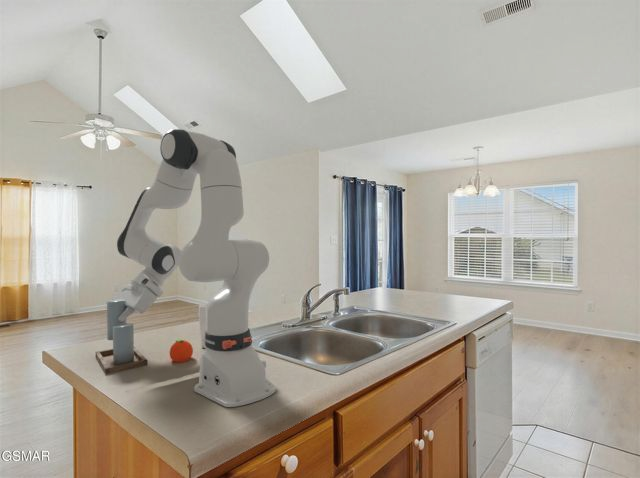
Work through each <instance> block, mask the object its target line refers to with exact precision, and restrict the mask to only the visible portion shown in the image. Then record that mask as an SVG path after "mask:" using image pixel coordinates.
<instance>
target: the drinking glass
mask: <svg viewBox="0 0 640 478" xmlns="http://www.w3.org/2000/svg"><path fill="white" fill-rule="evenodd" d="M207 304H208V303H202V304H199V305H198V322H199V331H200V332H199V333H200V341H201V343H200V344H201V348H202V349H206V346H205V332H206V331H207V313H206V307H207Z"/></svg>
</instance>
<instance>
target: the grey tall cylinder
mask: <svg viewBox="0 0 640 478" xmlns="http://www.w3.org/2000/svg"><path fill="white" fill-rule="evenodd" d="M134 333H135V332H134V323H132V322H131V323H129V322H127V323H125V324H118V325H115V326H113V340H112V349H113V365H114V366H116V365H120V364H125V363H130V362H134V347H135V341H134V340H135V339H134Z"/></svg>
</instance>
